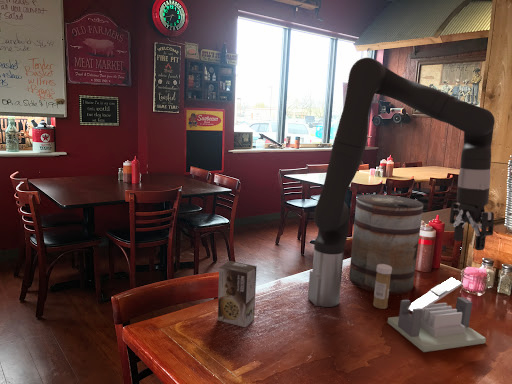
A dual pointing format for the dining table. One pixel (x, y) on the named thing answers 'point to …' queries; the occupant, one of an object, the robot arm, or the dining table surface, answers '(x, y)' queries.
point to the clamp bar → (434, 294)
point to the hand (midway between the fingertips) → (468, 245)
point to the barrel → (385, 241)
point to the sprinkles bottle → (382, 286)
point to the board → (437, 325)
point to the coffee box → (236, 293)
